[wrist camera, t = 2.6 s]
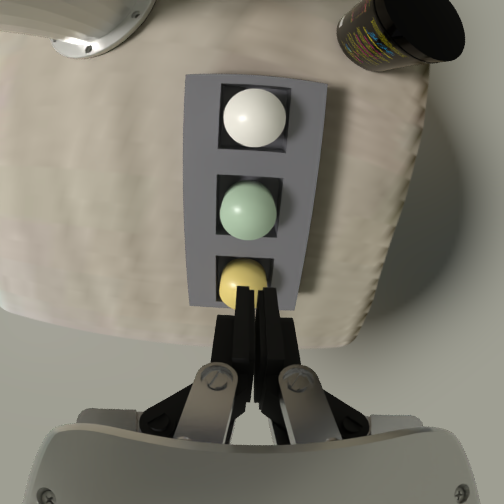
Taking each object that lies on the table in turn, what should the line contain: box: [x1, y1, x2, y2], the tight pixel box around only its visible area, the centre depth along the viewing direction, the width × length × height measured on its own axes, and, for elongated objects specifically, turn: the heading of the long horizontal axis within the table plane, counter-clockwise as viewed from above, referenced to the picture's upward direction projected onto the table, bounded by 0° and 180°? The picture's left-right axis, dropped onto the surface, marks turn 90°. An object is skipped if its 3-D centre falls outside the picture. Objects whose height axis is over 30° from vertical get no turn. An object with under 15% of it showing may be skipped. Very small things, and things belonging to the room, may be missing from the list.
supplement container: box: [337, 0, 465, 72], centre depth 13 cm, size 7×7×10 cm
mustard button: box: [219, 258, 267, 309], centre depth 26 cm, size 4×4×2 cm
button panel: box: [183, 74, 328, 310], centre depth 24 cm, size 22×11×3 cm, turn 176°
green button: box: [220, 180, 277, 240], centre depth 22 cm, size 4×4×2 cm
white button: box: [224, 89, 286, 147], centre depth 19 cm, size 4×4×2 cm
